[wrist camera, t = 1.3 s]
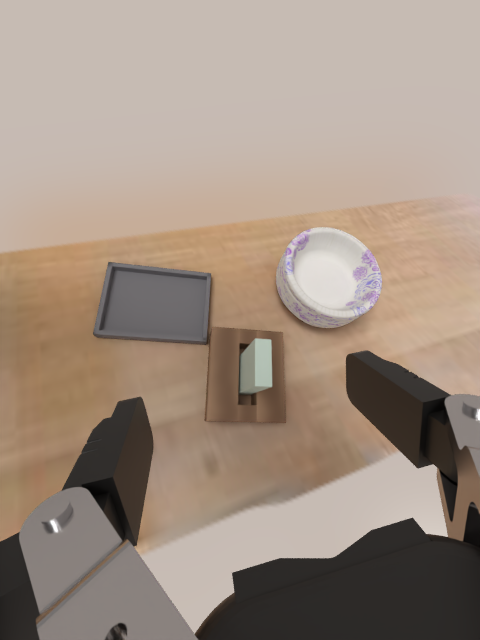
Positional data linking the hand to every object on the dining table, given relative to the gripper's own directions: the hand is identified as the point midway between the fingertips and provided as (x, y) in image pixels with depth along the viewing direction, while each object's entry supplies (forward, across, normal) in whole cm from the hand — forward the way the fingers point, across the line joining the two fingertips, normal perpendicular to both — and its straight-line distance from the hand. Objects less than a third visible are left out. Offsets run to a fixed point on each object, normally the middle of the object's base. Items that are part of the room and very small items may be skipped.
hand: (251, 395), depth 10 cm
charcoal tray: (+32, +8, +2) cm, 33 cm away
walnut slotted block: (+26, -3, +14) cm, 29 cm away
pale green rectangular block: (+25, -3, +13) cm, 29 cm away
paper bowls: (+34, -18, +5) cm, 39 cm away
